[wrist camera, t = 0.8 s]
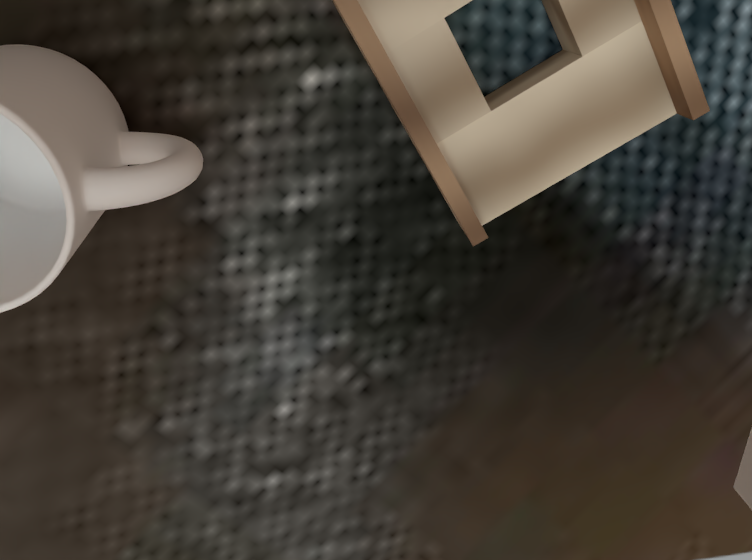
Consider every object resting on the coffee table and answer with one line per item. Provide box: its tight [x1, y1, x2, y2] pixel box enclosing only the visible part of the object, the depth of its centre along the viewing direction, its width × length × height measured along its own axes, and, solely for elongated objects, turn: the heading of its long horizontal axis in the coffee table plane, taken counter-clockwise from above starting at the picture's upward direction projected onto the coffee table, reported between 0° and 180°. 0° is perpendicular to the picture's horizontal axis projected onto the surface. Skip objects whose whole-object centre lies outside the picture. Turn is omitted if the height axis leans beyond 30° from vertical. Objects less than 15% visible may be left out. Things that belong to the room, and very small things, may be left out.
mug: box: [0, 44, 203, 312], centre depth 28 cm, size 12×8×10 cm
